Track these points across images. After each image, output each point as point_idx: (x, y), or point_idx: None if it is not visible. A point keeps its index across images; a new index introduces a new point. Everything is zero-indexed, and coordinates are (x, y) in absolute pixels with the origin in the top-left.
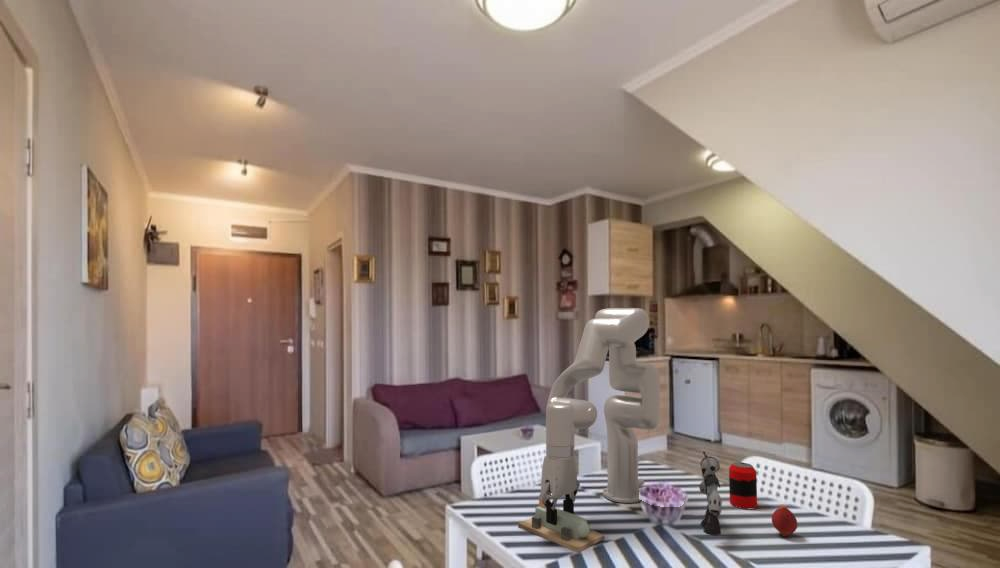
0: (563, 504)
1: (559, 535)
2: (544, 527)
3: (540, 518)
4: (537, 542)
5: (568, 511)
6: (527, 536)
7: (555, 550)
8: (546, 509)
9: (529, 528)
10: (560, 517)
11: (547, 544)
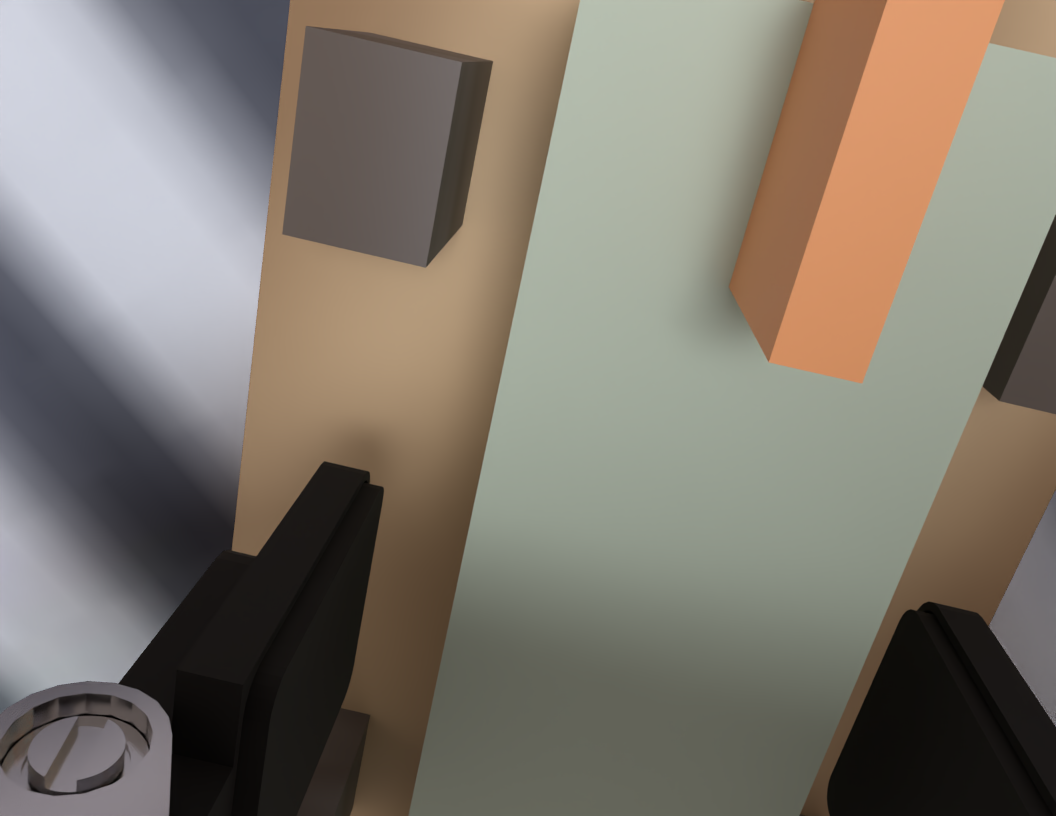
0: (1002, 792)
1: (365, 634)
2: (494, 285)
3: (404, 256)
4: (70, 370)
5: (888, 813)
6: (127, 106)
7: (61, 676)
8: (219, 618)
9: (289, 25)
10: (410, 810)
11: (127, 522)
